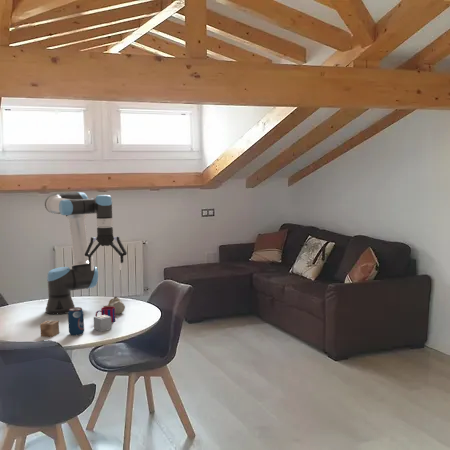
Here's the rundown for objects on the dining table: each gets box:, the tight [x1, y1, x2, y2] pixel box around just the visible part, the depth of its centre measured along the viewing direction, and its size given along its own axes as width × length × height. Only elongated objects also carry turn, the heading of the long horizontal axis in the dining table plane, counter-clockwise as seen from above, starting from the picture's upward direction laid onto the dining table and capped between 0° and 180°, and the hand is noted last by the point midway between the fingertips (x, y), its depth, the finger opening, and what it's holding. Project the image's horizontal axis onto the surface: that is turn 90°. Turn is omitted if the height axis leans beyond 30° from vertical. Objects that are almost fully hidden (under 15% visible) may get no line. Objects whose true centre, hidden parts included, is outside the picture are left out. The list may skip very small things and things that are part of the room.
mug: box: [95, 306, 116, 323], centre depth 284 cm, size 7×10×7 cm
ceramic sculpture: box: [103, 296, 126, 315], centre depth 303 cm, size 11×9×15 cm
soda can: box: [67, 306, 85, 337], centre depth 264 cm, size 7×7×12 cm
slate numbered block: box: [93, 314, 113, 333], centre depth 272 cm, size 6×6×6 cm
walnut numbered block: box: [39, 320, 60, 338], centre depth 264 cm, size 6×6×6 cm
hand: (106, 269), depth 279 cm, fingers open, 13 cm apart
